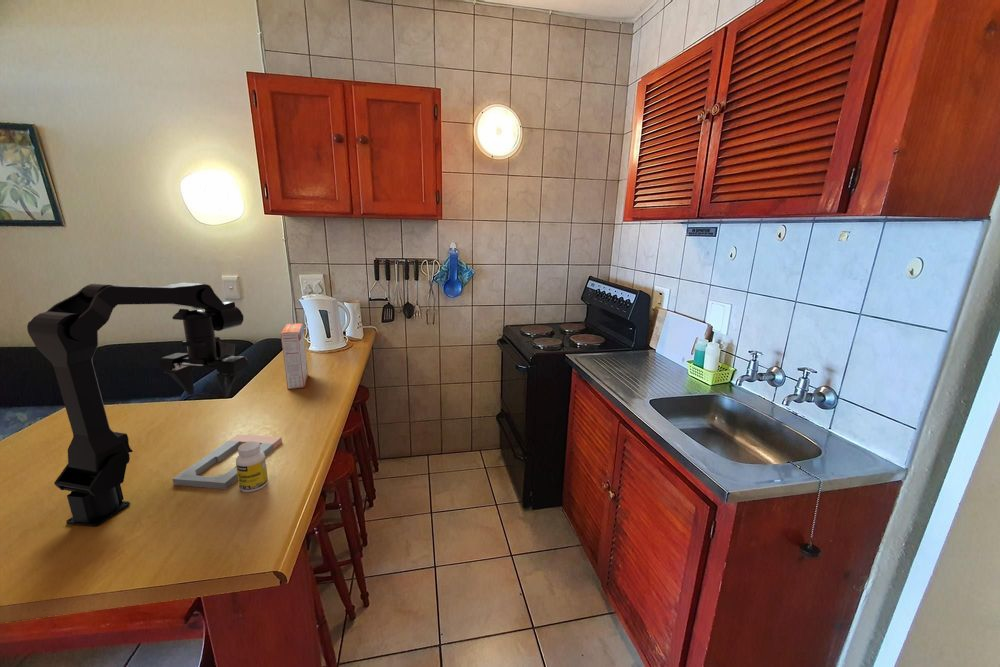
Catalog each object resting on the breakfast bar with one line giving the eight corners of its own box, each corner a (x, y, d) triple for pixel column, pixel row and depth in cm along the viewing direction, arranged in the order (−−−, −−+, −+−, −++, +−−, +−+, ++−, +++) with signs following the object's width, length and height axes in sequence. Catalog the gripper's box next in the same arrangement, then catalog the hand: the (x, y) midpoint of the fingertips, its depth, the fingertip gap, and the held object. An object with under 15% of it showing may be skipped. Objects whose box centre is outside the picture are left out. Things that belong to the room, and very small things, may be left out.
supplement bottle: (235, 494, 84) (229, 453, 81) (244, 479, 89) (238, 440, 86) (264, 491, 85) (259, 450, 83) (271, 476, 90) (266, 438, 88)
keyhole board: (225, 489, 85) (224, 483, 85) (173, 484, 86) (172, 478, 86) (282, 442, 105) (281, 437, 104) (239, 439, 105) (238, 433, 105)
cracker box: (291, 376, 151) (286, 323, 146) (308, 374, 153) (304, 322, 148) (285, 389, 138) (279, 332, 133) (304, 388, 140) (299, 331, 135)
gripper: (259, 329, 102) (265, 386, 106) (190, 326, 103) (198, 382, 106) (228, 340, 91) (236, 402, 95) (151, 336, 92) (162, 398, 96)
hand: (209, 395), depth 98 cm, fingers open, 9 cm apart
